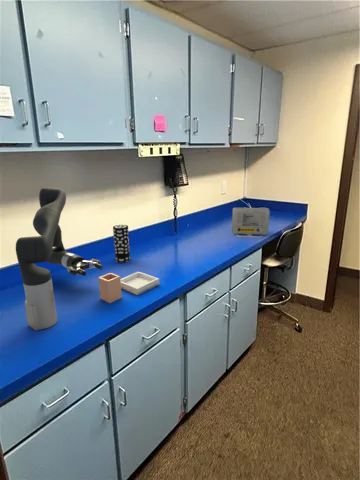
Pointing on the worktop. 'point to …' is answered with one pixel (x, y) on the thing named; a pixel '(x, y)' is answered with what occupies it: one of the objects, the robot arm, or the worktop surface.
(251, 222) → the network device
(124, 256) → the white-spotted black cylinder
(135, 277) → the tray
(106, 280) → the cup
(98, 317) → the worktop surface
